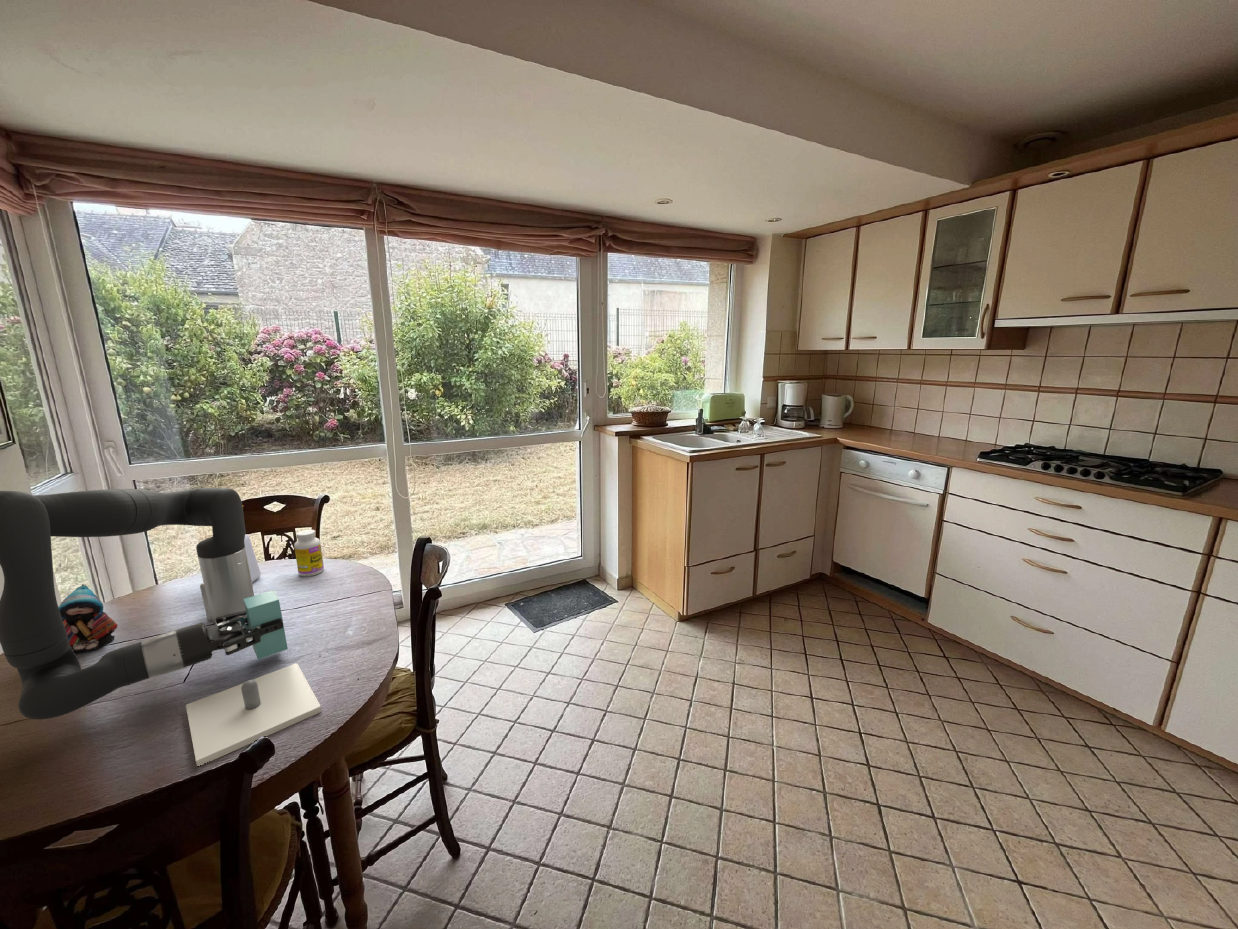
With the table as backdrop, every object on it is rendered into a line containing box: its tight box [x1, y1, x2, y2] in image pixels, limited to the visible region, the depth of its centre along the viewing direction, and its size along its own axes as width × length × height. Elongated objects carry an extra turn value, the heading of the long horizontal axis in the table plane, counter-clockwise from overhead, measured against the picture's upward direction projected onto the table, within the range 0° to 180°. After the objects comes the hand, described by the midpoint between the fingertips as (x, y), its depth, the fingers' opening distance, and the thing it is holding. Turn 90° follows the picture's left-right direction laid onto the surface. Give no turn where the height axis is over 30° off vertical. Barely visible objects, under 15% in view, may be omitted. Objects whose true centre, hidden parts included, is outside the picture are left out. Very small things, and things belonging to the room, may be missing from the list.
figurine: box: [58, 583, 118, 655], centre depth 110 cm, size 10×7×15 cm
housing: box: [243, 590, 289, 660], centre depth 107 cm, size 5×5×12 cm
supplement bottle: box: [293, 529, 325, 577], centre depth 148 cm, size 7×7×13 cm
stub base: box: [185, 662, 323, 767], centre depth 92 cm, size 18×18×6 cm
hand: (279, 617), depth 109 cm, fingers closed on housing, 5 cm apart
